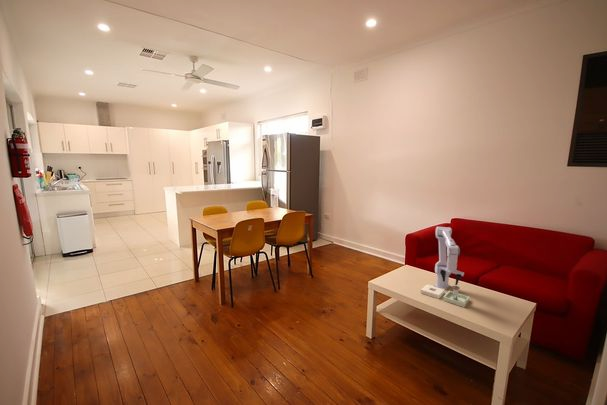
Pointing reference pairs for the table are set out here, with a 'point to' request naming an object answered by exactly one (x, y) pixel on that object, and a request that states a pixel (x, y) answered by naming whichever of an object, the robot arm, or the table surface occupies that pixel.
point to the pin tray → (460, 302)
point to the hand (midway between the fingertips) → (450, 282)
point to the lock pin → (455, 292)
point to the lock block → (432, 291)
